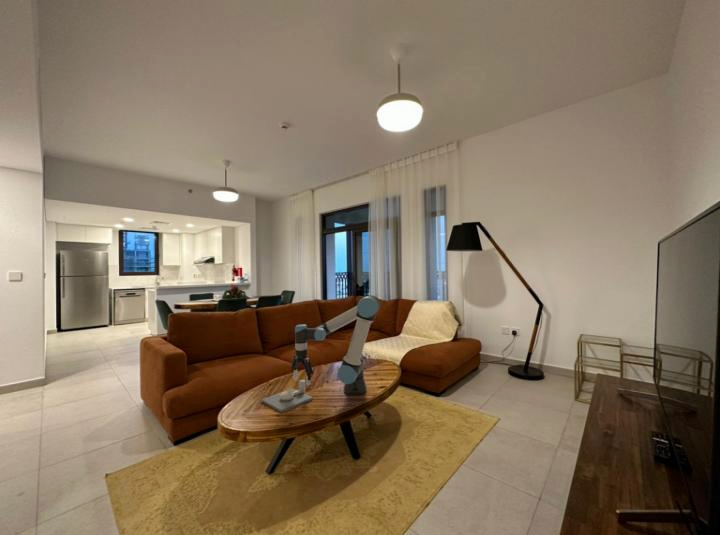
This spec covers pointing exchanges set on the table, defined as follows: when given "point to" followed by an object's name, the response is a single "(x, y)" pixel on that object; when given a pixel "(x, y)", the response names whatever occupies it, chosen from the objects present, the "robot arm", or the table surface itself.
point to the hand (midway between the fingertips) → (302, 382)
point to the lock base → (282, 405)
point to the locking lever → (290, 394)
